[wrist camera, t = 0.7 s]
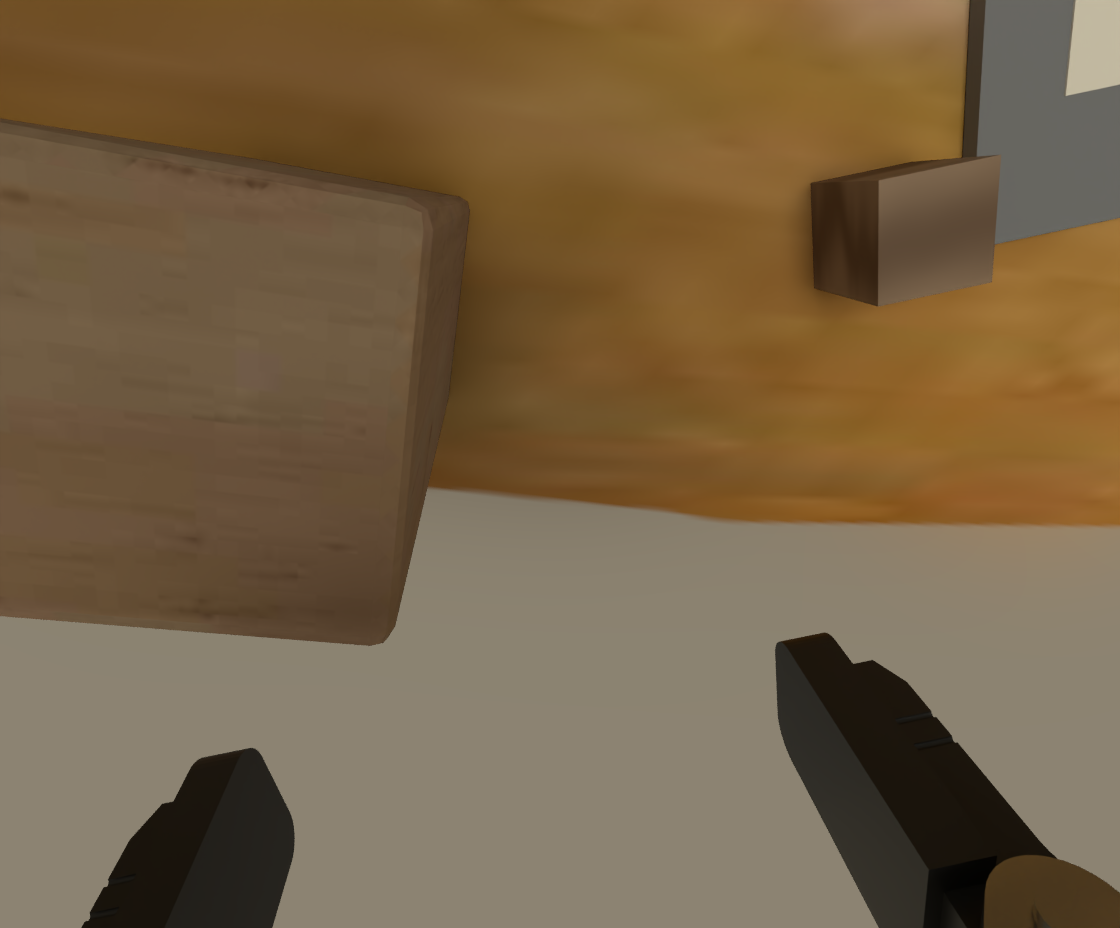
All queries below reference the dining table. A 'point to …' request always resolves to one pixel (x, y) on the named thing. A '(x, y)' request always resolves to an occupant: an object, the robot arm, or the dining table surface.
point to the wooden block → (216, 386)
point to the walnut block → (906, 229)
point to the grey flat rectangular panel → (1046, 110)
